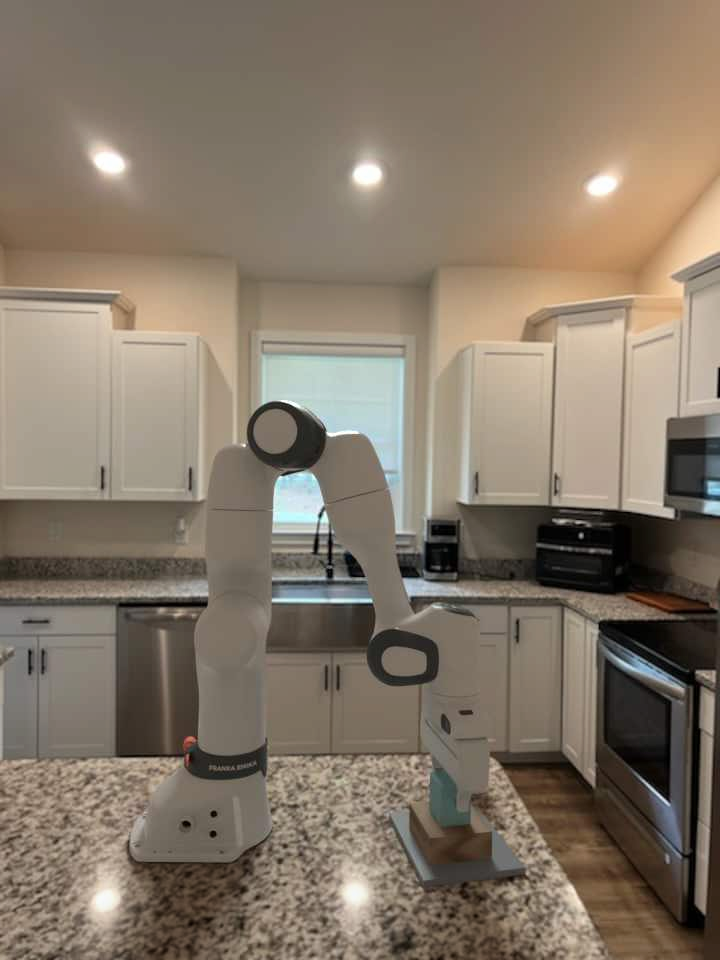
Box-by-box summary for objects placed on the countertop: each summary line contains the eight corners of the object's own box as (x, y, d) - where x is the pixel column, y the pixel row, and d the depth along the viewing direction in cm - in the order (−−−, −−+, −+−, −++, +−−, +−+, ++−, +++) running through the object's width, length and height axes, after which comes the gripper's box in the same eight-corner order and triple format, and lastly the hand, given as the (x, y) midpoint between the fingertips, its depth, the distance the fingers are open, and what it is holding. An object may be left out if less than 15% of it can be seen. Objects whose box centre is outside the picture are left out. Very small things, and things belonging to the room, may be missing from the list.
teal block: (440, 827, 89) (441, 787, 89) (429, 809, 94) (430, 772, 94) (470, 823, 90) (471, 784, 90) (458, 806, 95) (458, 769, 95)
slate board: (423, 887, 83) (423, 880, 83) (389, 818, 100) (389, 812, 100) (525, 874, 86) (525, 867, 86) (475, 809, 104) (475, 804, 104)
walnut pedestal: (429, 865, 86) (430, 838, 86) (409, 827, 96) (409, 803, 96) (491, 858, 88) (492, 831, 88) (465, 821, 98) (466, 797, 98)
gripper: (412, 686, 102) (410, 765, 102) (457, 732, 82) (455, 831, 82) (446, 684, 103) (444, 762, 103) (498, 730, 83) (496, 827, 83)
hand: (449, 793), depth 92 cm, fingers open, 8 cm apart
